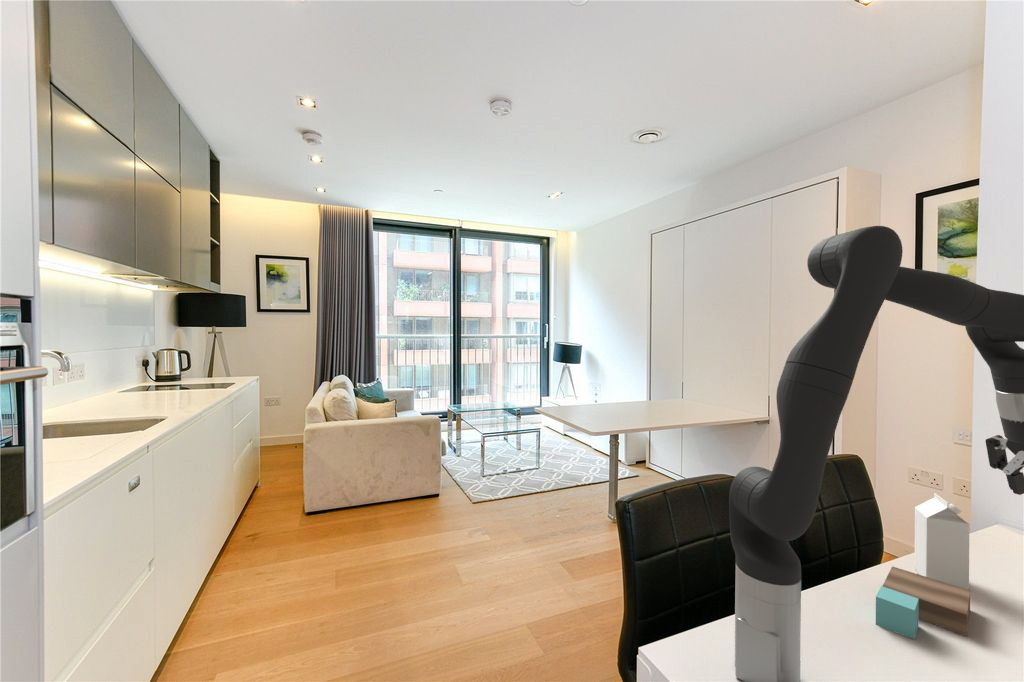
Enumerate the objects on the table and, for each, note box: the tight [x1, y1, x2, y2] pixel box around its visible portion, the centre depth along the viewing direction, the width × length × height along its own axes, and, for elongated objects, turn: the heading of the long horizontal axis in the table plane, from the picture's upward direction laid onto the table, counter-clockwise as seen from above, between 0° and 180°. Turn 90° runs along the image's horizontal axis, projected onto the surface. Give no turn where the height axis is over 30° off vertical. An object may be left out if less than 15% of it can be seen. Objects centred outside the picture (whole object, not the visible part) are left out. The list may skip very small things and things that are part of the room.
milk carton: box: [914, 492, 970, 590], centre depth 97 cm, size 7×7×19 cm
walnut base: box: [882, 566, 971, 637], centre depth 87 cm, size 12×12×4 cm
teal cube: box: [875, 585, 919, 640], centre depth 82 cm, size 6×6×6 cm
